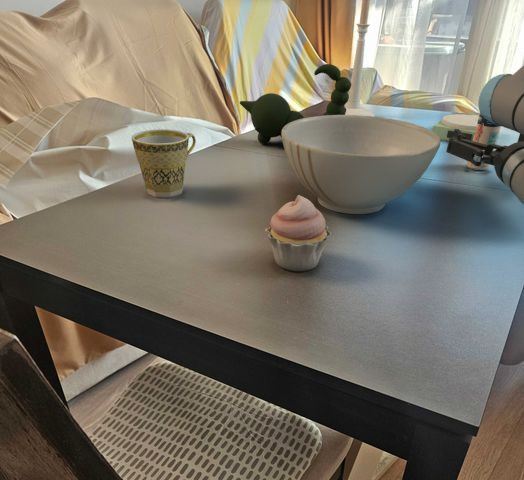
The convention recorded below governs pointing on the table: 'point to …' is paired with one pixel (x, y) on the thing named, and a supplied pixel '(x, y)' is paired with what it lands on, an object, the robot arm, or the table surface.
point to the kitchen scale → (456, 126)
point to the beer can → (484, 138)
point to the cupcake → (298, 235)
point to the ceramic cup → (162, 160)
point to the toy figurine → (279, 113)
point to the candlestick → (358, 67)
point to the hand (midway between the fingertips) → (487, 136)
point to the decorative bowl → (358, 159)
